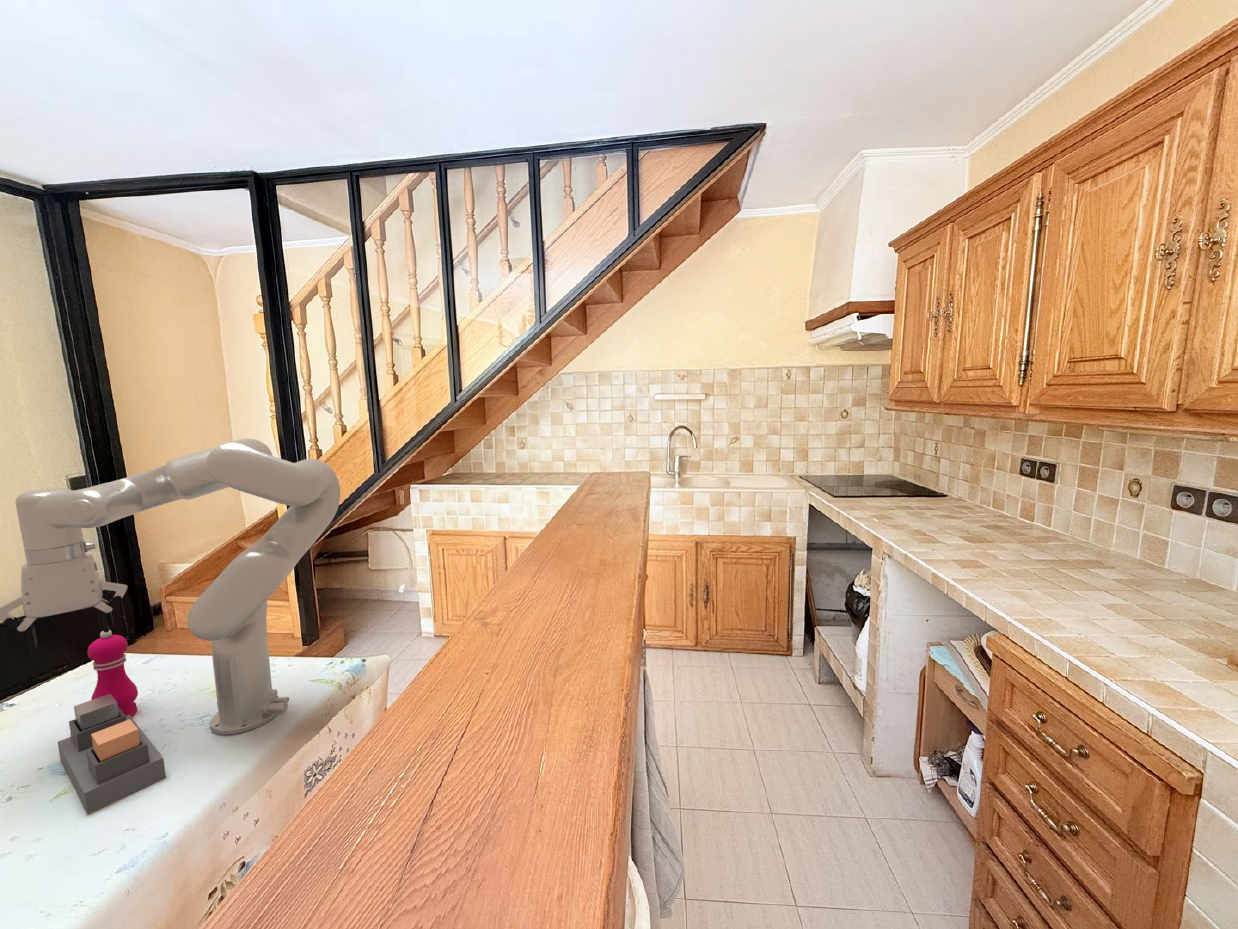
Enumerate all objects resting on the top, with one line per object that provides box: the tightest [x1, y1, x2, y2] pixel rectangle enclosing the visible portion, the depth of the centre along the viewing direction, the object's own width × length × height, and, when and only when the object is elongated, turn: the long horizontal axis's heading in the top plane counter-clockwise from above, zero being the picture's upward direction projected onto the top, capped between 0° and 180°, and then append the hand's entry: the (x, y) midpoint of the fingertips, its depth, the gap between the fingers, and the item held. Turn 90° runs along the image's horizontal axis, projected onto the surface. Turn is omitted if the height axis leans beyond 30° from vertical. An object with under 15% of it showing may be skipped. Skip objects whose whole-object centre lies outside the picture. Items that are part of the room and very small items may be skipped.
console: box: [57, 707, 167, 816], centre depth 93 cm, size 22×10×8 cm, turn 56°
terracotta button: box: [91, 719, 140, 761], centre depth 88 cm, size 5×5×3 cm
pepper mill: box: [87, 629, 139, 718], centre depth 107 cm, size 7×7×20 cm
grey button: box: [73, 694, 119, 730], centre depth 96 cm, size 5×5×3 cm
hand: (71, 638), depth 97 cm, fingers open, 9 cm apart
